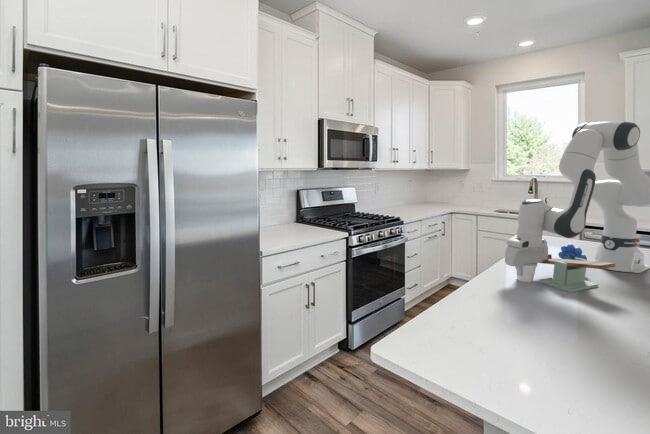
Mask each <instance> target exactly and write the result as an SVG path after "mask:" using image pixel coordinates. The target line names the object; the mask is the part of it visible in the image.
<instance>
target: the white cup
mask: <svg viewBox="0 0 650 434" xmlns="http://www.w3.org/2000/svg"><path fill="white" fill-rule="evenodd" d="M521 269H522V275H521V276H519V275H517V274H516V280H517V279H518V281H519V282H523V283H533V282H534V278H535V274H536V269H537V267H536V264H535V263H533V264H526V265H522V268H521ZM532 281H533V282H532Z"/></svg>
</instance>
